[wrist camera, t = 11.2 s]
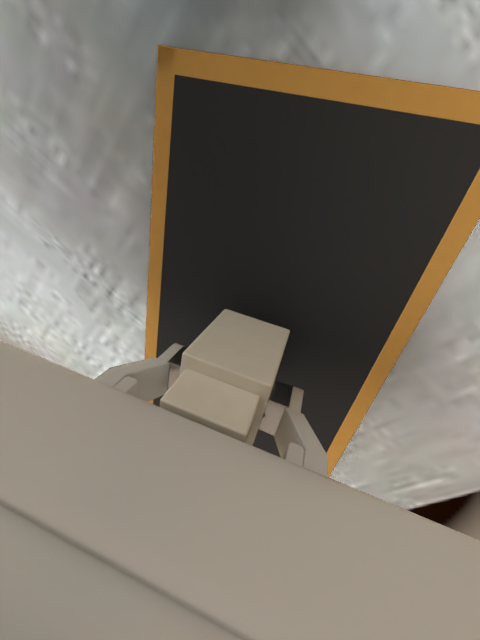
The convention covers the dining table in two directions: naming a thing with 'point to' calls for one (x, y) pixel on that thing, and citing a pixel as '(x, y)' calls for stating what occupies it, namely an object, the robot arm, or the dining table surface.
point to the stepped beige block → (228, 375)
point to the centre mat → (307, 216)
